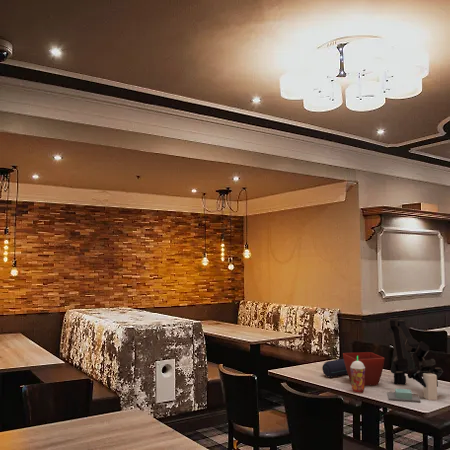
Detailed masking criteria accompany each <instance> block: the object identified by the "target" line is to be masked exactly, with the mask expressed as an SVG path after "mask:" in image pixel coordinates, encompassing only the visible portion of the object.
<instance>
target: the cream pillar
mask: <svg viewBox="0 0 450 450" xmlns="http://www.w3.org/2000/svg"><path fill="white" fill-rule="evenodd" d="M422 378H423V380H424V382H425V384H426V387H424V386H422V387H423V388H422V389H423V392H422V393H423V398H424V399H426V400H428V401H438V387H437V380H438V377H437V375H435V374H432V373H423V375H422Z"/></svg>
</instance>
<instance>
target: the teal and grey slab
mask: <svg viewBox="0 0 450 450" xmlns="http://www.w3.org/2000/svg"><path fill="white" fill-rule="evenodd" d="M387 400H388V401H391V402H393V401H394V402H395V401H396V402H404V403H405V402H407V403H418V404H419V403H420V404H421V399H420V396H419V394H418V393H413V392H412V389H408V388H407V389H406V388H395V389H394V391H387Z"/></svg>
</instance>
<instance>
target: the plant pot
mask: <svg viewBox="0 0 450 450" xmlns="http://www.w3.org/2000/svg"><path fill="white" fill-rule="evenodd" d="M342 356H343V358H342V359H344V362H345V366H346V370H347V373H348V374H347V376H348V378H349V381H350V382H351V369H350V366H351V364H352V363H353V362H354V361H357V356H358V361H361V362H362V363H363V364H364V367H365V382H364V387H367V386H378V385H379V383H380V380H381V378H382V374H383V369H384V364H385V357H383V356H381V355H379V354H376V353H374V352H369V351H365V352H343V353H342Z"/></svg>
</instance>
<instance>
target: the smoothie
mask: <svg viewBox="0 0 450 450" xmlns="http://www.w3.org/2000/svg"><path fill="white" fill-rule="evenodd" d="M350 369H351V381H350V382H351V389H352V391H353V392H354V393H359V394H361V393H363V392H364V391H365V386H364V382H365V367H364V364H363V363H362V362H361V361H358V356H357V361H354V362H353V363H352V364H351V366H350Z"/></svg>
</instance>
